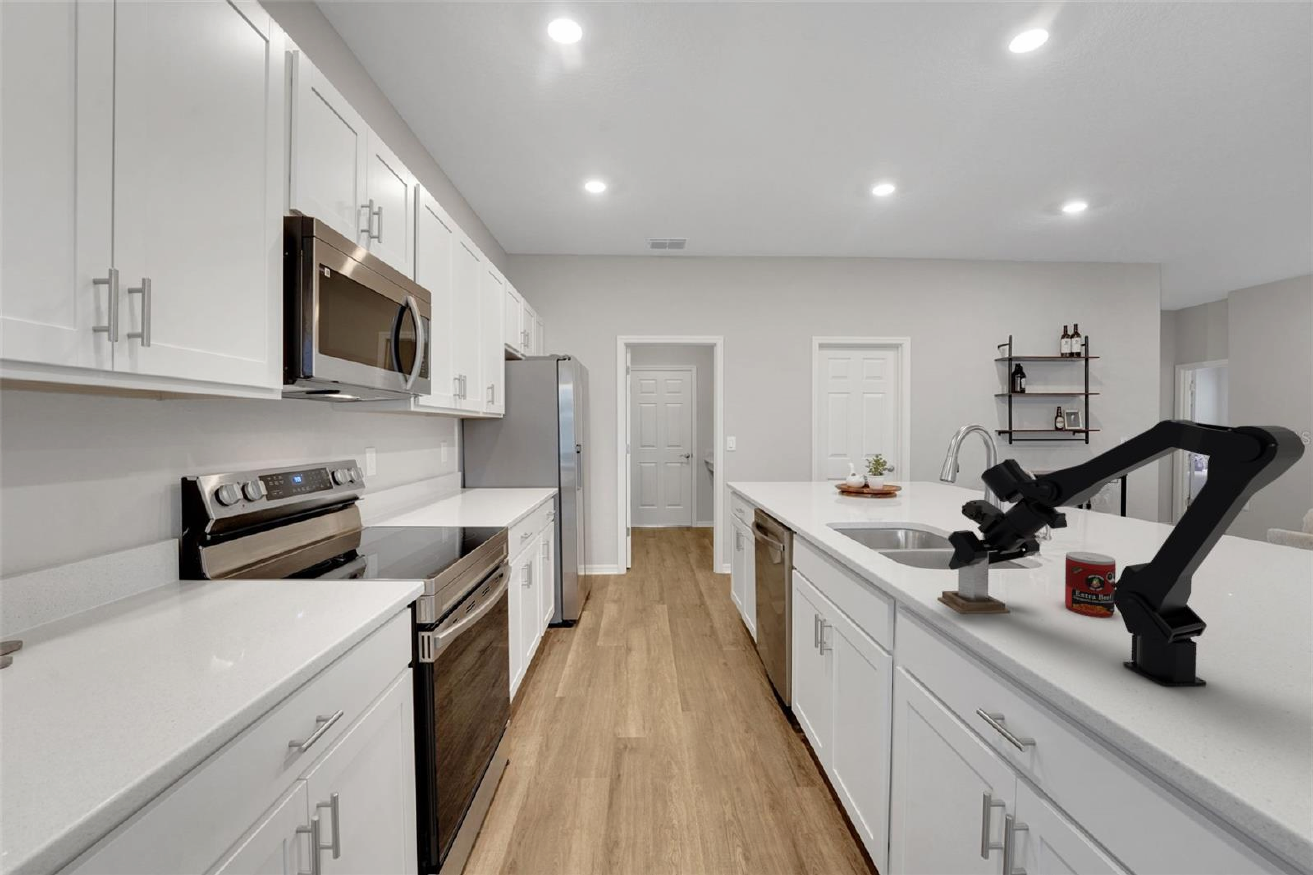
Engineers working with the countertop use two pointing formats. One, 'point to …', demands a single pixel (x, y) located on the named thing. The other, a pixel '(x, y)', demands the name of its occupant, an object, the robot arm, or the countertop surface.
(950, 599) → the brown square tray
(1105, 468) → the robot arm
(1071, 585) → the canned food
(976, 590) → the grey dark-topped prism
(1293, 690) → the countertop surface
